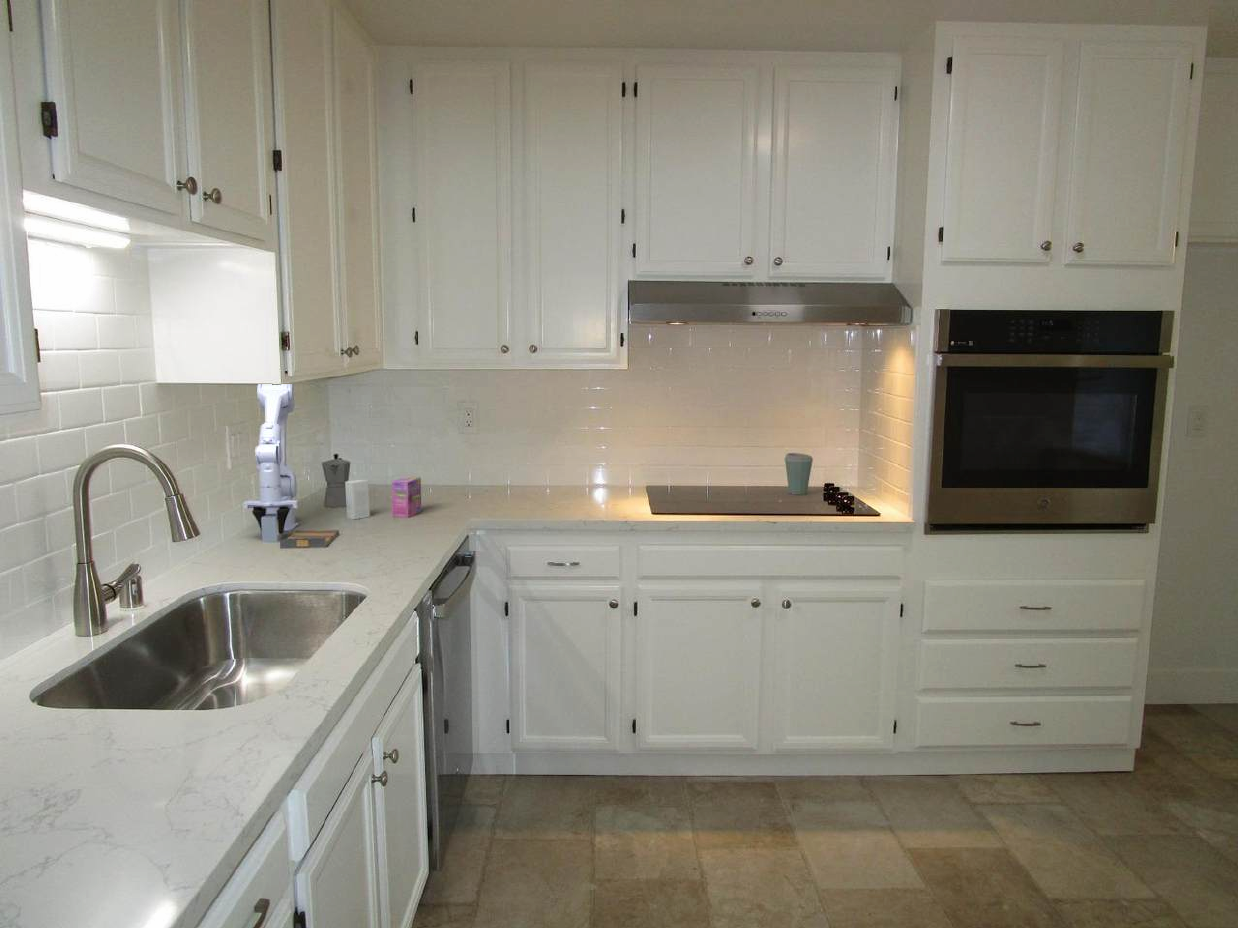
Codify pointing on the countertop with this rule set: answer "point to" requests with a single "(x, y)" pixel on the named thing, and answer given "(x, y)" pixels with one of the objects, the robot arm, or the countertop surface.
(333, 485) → the coffeepot
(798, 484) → the disposable coffee cup
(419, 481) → the box
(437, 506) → the countertop surface
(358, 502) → the skincare box
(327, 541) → the shelf board
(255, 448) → the robot arm
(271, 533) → the carton
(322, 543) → the price rail
